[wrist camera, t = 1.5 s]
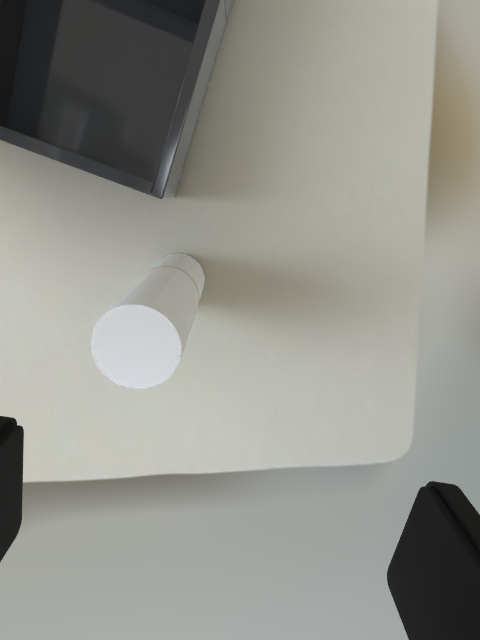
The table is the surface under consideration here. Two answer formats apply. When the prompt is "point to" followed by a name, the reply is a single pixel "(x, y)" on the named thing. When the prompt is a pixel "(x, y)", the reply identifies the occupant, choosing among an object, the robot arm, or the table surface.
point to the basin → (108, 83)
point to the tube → (149, 324)
